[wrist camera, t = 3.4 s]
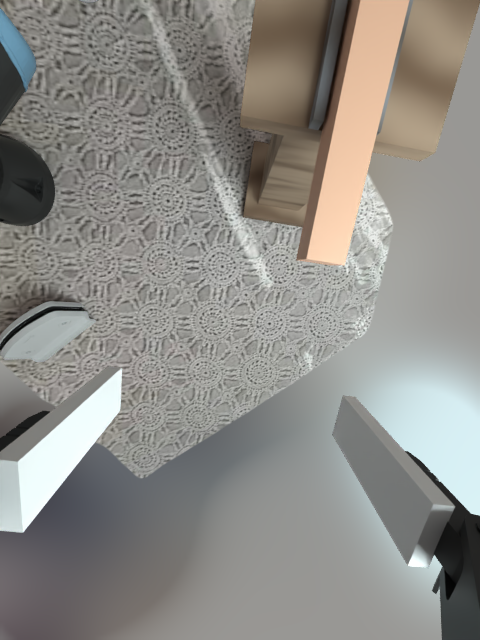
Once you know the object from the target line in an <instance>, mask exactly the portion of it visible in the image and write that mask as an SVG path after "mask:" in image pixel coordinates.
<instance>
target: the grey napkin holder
mask: <svg viewBox="0 0 480 640" xmlns="http://www.w3.org/2000/svg"><path fill="white" fill-rule="evenodd" d="M83 307H84V306H83V304H81V303H76V302H56V301H49V302H45V303H43V304H41V305H39V306H37V307H35V308H33V309H32V310H30V311H28V312H27V313H25V314H24V315H22V316H21V317H19V318H18V319H16V320H15V321H14V322H13V323H11V324H10V325H9V326H8V327H7V328H6V329H5V330H4V331H3V332H2V334H1V335H0V350H1V352H0V355H1V356H2V357H3V358H4V359H6V360H8V359H32V360H34V361H36V362H43V361H46V360H47V359H49V358H50V357H51V356H52V355H54V354H55V353H56V352H58V351H59V350H60V349H61V348H63V347H64V346H65V345H66V344H68V343H69V342H70V341H72V340H73V339H74V338H75V337H77V336H78V335H79V334H80V333H82V332H83V331H84V330H86V329H87V328H88V327H89V326H91V325H92V324H93V323H94V322H96V320H95V319H90V318H89V315H88V312H87V311H84V310H82V309H83Z"/></svg>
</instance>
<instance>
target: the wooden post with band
mask: <svg viewBox="0 0 480 640" xmlns="http://www.w3.org/2000/svg"><path fill="white" fill-rule="evenodd" d="M347 4H348V0H256V1H255V8H254V16H253V24H252V31H251V39H250V46H249V54H248V62H247V69H246V77H245V84H244V92H243V100H242V107H241V115H240V127H242V128H247V129H253V130H258V131H263V132H268V133H272V136H271V140H270V143H269V144H268V143H263V142H258V141H254V146H253V152H252V159H251V166H250V173H249V180H248V187H247V194H246V201H245V207H244V214H243V217H245V218H251V219H257V220H263V221H269V222H275V223H281V224H287V225H292V226H298V227H303V224H304V219H305V214H306V209H307V204H308V199H309V194H310V189H311V184H312V179H313V174H314V169H315V164H316V159H317V154H318V149H319V144H320V139H321V134H322V129H323V124H324V119H325V114H326V109H327V104H328V99H329V94H330V89H331V84H332V79H333V74H334V69H335V64H336V59H337V54H338V49H339V44H340V39H341V34H342V29H343V24H344V19H345V14H346V9H347ZM479 4H480V0H409V4H408V8H407V12H406V17H405V21H404V25H403V29H402V33H401V37H400V41H399V45H398V49H397V53H396V57H395V61H394V66H393V70H392V74H391V78H390V82H389V86H388V90H387V94H386V98H385V102H384V106H383V110H382V114H381V119H380V123H379V127H378V131H377V135H376V139H375V143H374V147H373V151H372V152H374V153H379V154H384V155H389V156H394V157H400V158H405V159H410V160H416V161H421V160H423V159H425V158H427V157H429V156H430V155H432V154H434V153H435V152H436V149H437V145H438V141H439V138H440V135H441V132H442V128H443V125H444V121H445V118H446V115H447V112H448V108H449V105H450V101H451V98H452V95H453V91H454V88H455V84H456V81H457V78H458V74H459V71H460V68H461V64H462V61H463V58H464V54H465V51H466V48H467V44H468V41H469V38H470V34H471V30H472V28H473V24H474V20H475V17H476V14H477V11H478V7H479Z"/></svg>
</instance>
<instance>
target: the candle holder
mask: <svg viewBox="0 0 480 640" xmlns="http://www.w3.org/2000/svg"><path fill="white" fill-rule="evenodd" d="M79 1H82V2H85V3H93V2H96V1H98V0H79Z"/></svg>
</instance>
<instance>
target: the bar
mask: <svg viewBox="0 0 480 640" xmlns="http://www.w3.org/2000/svg"><path fill="white" fill-rule="evenodd" d="M408 4H409V0H348V4H347V9H346V14H345V19H344V24H343V29H342V34H341V39H340V44H339V49H338V54H337V59H336V64H335V69H334V74H333V79H332V84H331V89H330V94H329V99H328V104H327V109H326V114H325V119H324V124H323V129H322V134H321V139H320V144H319V149H318V154H317V159H316V164H315V169H314V174H313V179H312V184H311V189H310V194H309V199H308V204H307V209H306V214H305V219H304V224H303V229H302V234H301V239H300V244H299V249H298V254H297V259H296V260H300V261H306V262H312V263H318V264H325V265H345V261H346V257H347V253H348V249H349V245H350V241H351V237H352V233H353V229H354V225H355V221H356V216H357V212H358V208H359V204H360V200H361V196H362V192H363V188H364V184H365V180H366V176H367V172H368V168H369V163H370V159H371V155H372V151H373V147H374V143H375V139H376V135H377V131H378V127H379V123H380V119H381V114H382V110H383V106H384V102H385V98H386V94H387V90H388V86H389V82H390V78H391V74H392V70H393V66H394V61H395V57H396V53H397V49H398V45H399V41H400V37H401V33H402V29H403V25H404V21H405V17H406V12H407V8H408Z"/></svg>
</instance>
